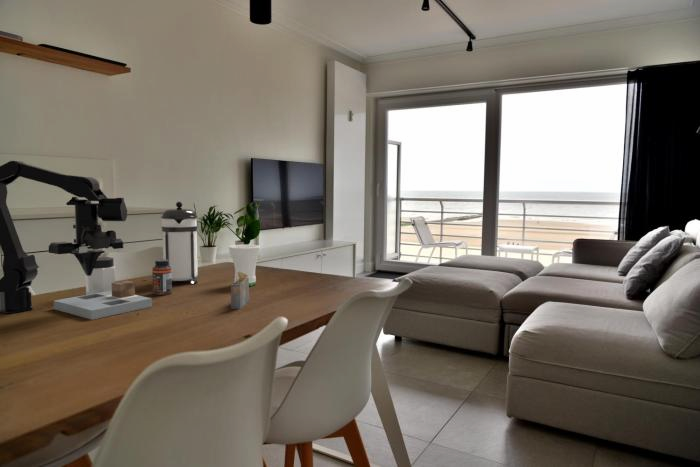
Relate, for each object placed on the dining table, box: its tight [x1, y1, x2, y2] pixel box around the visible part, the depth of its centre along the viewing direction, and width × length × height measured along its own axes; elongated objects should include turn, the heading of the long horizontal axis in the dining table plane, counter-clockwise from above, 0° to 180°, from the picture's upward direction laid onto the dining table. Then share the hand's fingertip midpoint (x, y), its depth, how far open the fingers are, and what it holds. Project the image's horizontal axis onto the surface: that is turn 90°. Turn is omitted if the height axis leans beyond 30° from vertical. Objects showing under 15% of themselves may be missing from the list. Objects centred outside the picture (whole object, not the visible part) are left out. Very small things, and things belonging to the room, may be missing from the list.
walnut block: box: [112, 280, 136, 298], centre depth 149 cm, size 5×5×4 cm
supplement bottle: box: [151, 258, 173, 296], centre depth 163 cm, size 6×6×11 cm
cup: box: [228, 244, 261, 287], centre depth 180 cm, size 11×11×14 cm
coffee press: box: [160, 201, 198, 285], centre depth 184 cm, size 17×16×30 cm
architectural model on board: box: [230, 272, 250, 310], centre depth 150 cm, size 11×3×10 cm, turn 178°
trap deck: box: [53, 290, 153, 321], centre depth 144 cm, size 18×20×2 cm
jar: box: [85, 256, 116, 295], centre depth 160 cm, size 9×8×12 cm
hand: (88, 275), depth 142 cm, fingers closed
